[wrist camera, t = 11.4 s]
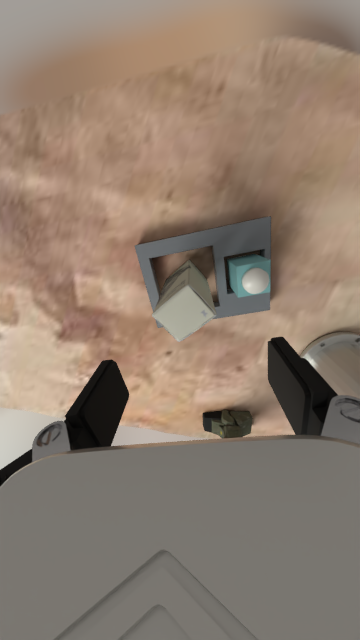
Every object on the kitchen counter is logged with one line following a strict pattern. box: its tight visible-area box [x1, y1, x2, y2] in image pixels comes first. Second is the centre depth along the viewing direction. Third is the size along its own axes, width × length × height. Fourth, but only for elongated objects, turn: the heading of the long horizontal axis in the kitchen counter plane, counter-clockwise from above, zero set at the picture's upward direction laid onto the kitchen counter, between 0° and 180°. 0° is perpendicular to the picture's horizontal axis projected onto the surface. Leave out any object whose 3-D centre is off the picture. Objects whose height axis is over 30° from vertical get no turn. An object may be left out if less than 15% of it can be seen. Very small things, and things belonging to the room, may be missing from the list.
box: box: [152, 260, 217, 341], centre depth 24 cm, size 5×4×13 cm
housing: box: [135, 216, 271, 328], centre depth 28 cm, size 18×13×2 cm
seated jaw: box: [227, 254, 271, 298], centre depth 26 cm, size 4×4×7 cm
